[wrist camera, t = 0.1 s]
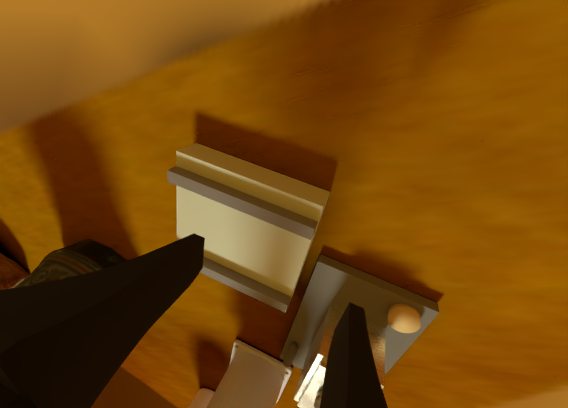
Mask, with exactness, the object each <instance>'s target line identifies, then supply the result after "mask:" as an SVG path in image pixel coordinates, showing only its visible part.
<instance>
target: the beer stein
mask: <svg viewBox="0 0 568 408" xmlns="http://www.w3.org/2000/svg"><path fill="white" fill-rule="evenodd" d="M126 261H127V260H125V259H124V258H123V257H121V256H120V255H119V254H118V253H116V252H115V251H114V250H113V249H111V248H109V247H107V246H105V245H102V244H100V243H98V242H95V241H93V240H91V239H87V240H85V241H82V242H79V243H76V244H73V245H70V246H67V247H64V248H61V249H59V250H55V251H52V252H51V253H49V254H48V255H47V256H46V257H45V258H44V259H43V260H42V262H41V263H40V264H39V266H38V267H37V268H36V269H35V270H34V271H33V272H32V273H31V274H30V275H29V276H28V277H26V278H25V279H24V280H23V281H22V282H21V283H20V284H18V285H17V286H16V287H15V288H17V287H24V286H30V285H36V284H41V283H47V282H52V281H56V280H61V279H66V278H70V277H74V276H78V275H82V274H86V273H90V272H94V271H97V270H101V269H104V268H107V267H111V266H114V265H117V264H120V263H123V262H126Z"/></svg>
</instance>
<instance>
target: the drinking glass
mask: <svg viewBox="0 0 568 408" xmlns="http://www.w3.org/2000/svg"><path fill="white" fill-rule="evenodd" d="M214 393H215V392H214V391H212V390H210V389H207V388H201V389H199V390H198V391H197V393H196V394H195V396H194V398H193V399H192V401H191V403H190V404H189V405H188V407H187V408H207V406H208V404H209V402H210V400H211V398H212V397H213V395H214Z"/></svg>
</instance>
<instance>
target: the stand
mask: <svg viewBox="0 0 568 408" xmlns="http://www.w3.org/2000/svg"><path fill="white" fill-rule="evenodd" d="M167 171H168V182H170V183H172V184H175V185H177V240H180V239H182V238H184V237H186V236H189V235H191V234H194V233H195V234H197V235H199V236H201V237H204V238H205V242H204V257H203V268H202V270H201V271H200V273H202V274H204V275H207V276H209V277H211V278H213V279H215V280H217V281H219V282H221V283H223V284H225V285H228V286H230V287H232V288H234V289H236V290H238V291H240V292H242V293H244V294H246V295H249V296H251V297H253V298H255V299H257V300H259V301H261V302H263V303H265V304H268V305H270V306H272V307H274V308H276V309H278V310H280V311H282V312H284V313H286V311H287V308H288V306H289V304H290V301H291V299H292V297H293V294H294V292H295V289H296V286H297V283H298V281H299V278H300V275H301V272H302V270H303V267H304V264H305V261H306V259H307V256H308V253H309V250H310V247H311V245H312V242H313V239H314V236H315V234H316V231H317V228H318V225H319V223H320V220H321V217H322V214H323V211H324V209H325V206H326V203H327V200H328V198H329V195H330V192H329V191H326V190H324V189H321V188H318V187H316V186H313V185H310V184H307V183H305V182H302V181H299V180H296V179H294V178H291V177H288V176H286V175H283V174H280V173H277V172H275V171H272V170H269V169H266V168H264V167H261V166H258V165H255V164H253V163H250V162H247V161H245V160H242V159H239V158H236V157H234V156H231V155H228V154H225V153H223V152H220V151H217V150H215V149H212V148H209V147H206V146H204V145H201V144H198V143H195V144H192V145H190V146H187V147H185V148H182V149H180V150H177V151H176V167H173V168H171V169H169V170H167Z"/></svg>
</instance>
